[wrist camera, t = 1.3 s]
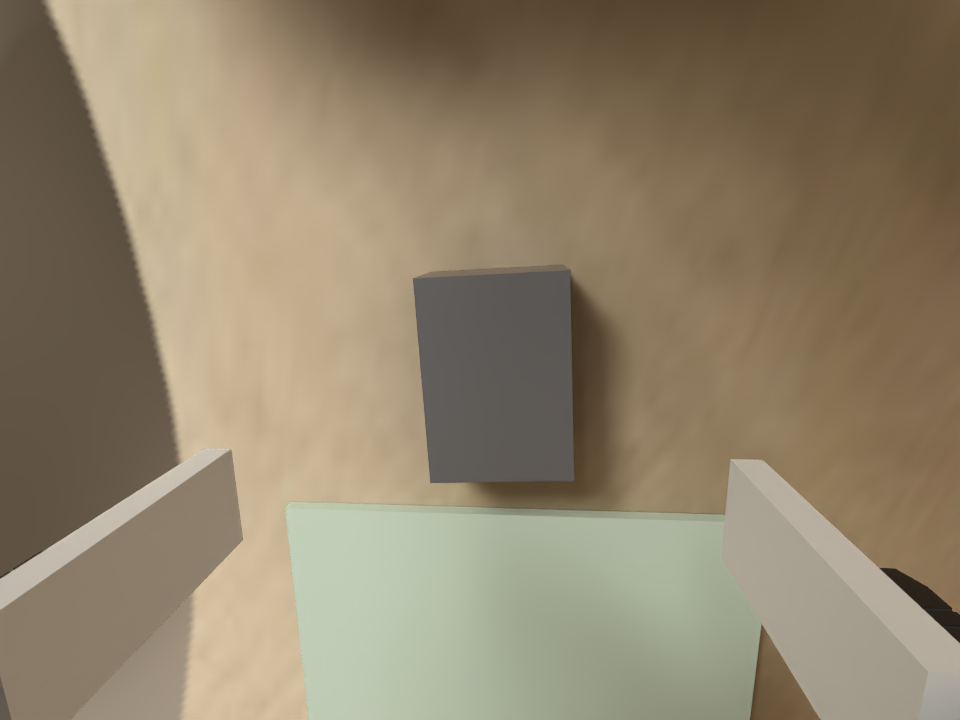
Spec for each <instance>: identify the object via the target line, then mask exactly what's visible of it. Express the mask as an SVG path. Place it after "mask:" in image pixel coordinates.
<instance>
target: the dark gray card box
mask: <svg viewBox="0 0 960 720" xmlns="http://www.w3.org/2000/svg"><path fill="white" fill-rule="evenodd" d="M413 284H414V295H415V307H416V319H417V330H418V342H419V354H420V366H421V377H422V389H423V401H424V412H425V424H426V436H427V448H428V459H429V471H430V483H461V482H539V481H574V443H573V390H572V338H571V285H570V270H569V269H568V268H567V267H565V266H564V265H550V266H532V267H513V268H495V269H476V270H457V271H439V272H430V273H427V274H424V275H422V276H419V277H416V278H413Z"/></svg>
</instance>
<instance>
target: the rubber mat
mask: <svg viewBox="0 0 960 720" xmlns="http://www.w3.org/2000/svg"><path fill="white" fill-rule="evenodd" d="M285 512H286V521H287V530H288V539H289V548H290V557H291V566H292V575H293V584H294V593H295V602H296V611H297V620H298V629H299V638H300V647H301V656H302V664H303V673H304V682H305V691H306V700H307V709H308V718H309V720H750V714H751V706H752V698H753V689H754V681H755V673H756V665H757V657H758V648H759V640H760V632H761V624H762V623H761V622H760V620H759V618H758V617H757V615H756V614H755V612H754V610H753V609H752V607H751V605H750V604H749V602H748V600H747V599H746V597H745V596H744V594H743V592H742V591H741V589H740V587H739V586H738V584H737V582H736V581H735V579H734V577H733V576H732V574H731V573H730V571H729V569H728V568H727V566H726V564H725V563H724V561H723V559H722V558H721V555H722V544H723V534H724V524H725V515H720V514H687V513H653V512H620V511H587V510H553V509H520V508H486V507H453V506H419V505H386V504H352V503H319V502H290V503H289V504H288V506H287V507H286V508H285Z"/></svg>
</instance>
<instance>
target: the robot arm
mask: <svg viewBox="0 0 960 720" xmlns="http://www.w3.org/2000/svg"><path fill="white" fill-rule="evenodd" d="M242 540H243V536H242V528H241V520H240V513H239V505H238V497H237V489H236V482H235V474H234V466H233V459H232V451H231V449H212V448H204V449H203V450H201V451H200V452H198V453H197V454H195V455H194V456H192V457H190V458H189V459H187V460H186V461H184V462H183V463H181V464H179V465H178V466H176V467H175V468H173V469H172V470H170V471H168V472H167V473H165V474H164V475H163V476H161V477H159V478H158V479H156V480H155V481H153V482H151V483H150V484H148V485H147V486H145V487H143V488H142V489H140V490H139V491H137V492H136V493H134V494H132V495H131V496H129V497H128V498H126V499H125V500H123V501H122V502H120V503H118V504H117V505H115V506H114V507H112V508H111V509H109V510H107V511H106V512H104V513H103V514H101V515H100V516H98V517H96V518H95V519H93V520H92V521H90V522H89V523H87V524H85V525H84V526H82V527H81V528H79V529H78V530H76V531H75V532H73V533H71V534H70V535H68V536H67V537H65V538H64V539H62V540H60V541H59V542H57V543H56V544H54V545H53V546H51V547H49V548H48V549H45V550H43V551H41V552H39V553H37V554H36V555H34V556H32V557H31V558H29V559H28V560H26V561H25V562H23V563H21V564H20V565H18V566H17V567H15V568H14V570H13V571H12V572H7V573H6V574H4V575H3V576H1V577H0V720H71V719H72V718H73V717H74V716H75V715H76V713H77V712H78V711H79V710H80V709H81V708H82V707H83V706H84V705H85V704H86V703H87V702H88V701H89V700H90V699H91V698H92V697H93V696H94V695H95V693H96V692H98V690H99V689H100V688H101V687H102V686H103V685H104V684H105V683H106V682H107V681H108V680H109V679H110V678H111V677H112V676H113V675H114V674H115V673H116V672H117V671H118V670H119V668H120V667H122V665H123V664H124V663H125V662H126V661H127V660H128V659H129V658H130V657H131V656H132V655H133V654H134V653H135V652H136V651H137V650H138V649H139V648H140V647H141V646H142V645H143V644H144V642H145V641H146V640H147V639H148V638H149V637H150V636H151V635H152V634H153V633H154V632H155V631H156V630H157V629H158V628H159V627H160V626H161V625H162V623H164V622H165V620H167V618H168V617H169V616H170V615H171V614H172V613H173V612H174V611H175V610H176V609H177V608H178V607H179V606H180V605H181V604H182V603H183V602H184V601H185V600H186V599H187V598H188V597H189V596H190V594H191V593H192V592H193V591H194V590H195V589H196V588H197V587H198V586H199V585H200V584H201V583H202V582H203V581H204V580H205V579H206V578H207V577H208V576H209V575H210V574H211V573H212V571H213V570H214V569H215V568H216V567H217V566H218V565H219V564H220V563H221V562H222V561H223V560H224V559H225V558H226V557H227V556H228V555H229V554H230V553H231V552H232V551H233V550H234V549H235V547H236V546H237V545H238V544H239V543H240V542H241V541H242ZM721 558H722V559H723V561H724V563H725V564H726V566H727V568H728V569H729V571H730V573H731V574H732V576H733V577H734V579H735V581H736V582H737V584H738V586H739V587H740V589H741V591H742V592H743V594H744V596H745V597H746V599H747V600H748V602H749V604H750V605H751V607H752V609H753V610H754V612H755V614H756V615H757V617H758V618H759V620H760V622H761V623H762V625H763V627H764V628H765V630H766V632H767V633H768V635H769V636H770V638H771V640H772V641H773V643H774V645H775V646H776V648H777V650H778V651H779V653H780V654H781V656H782V658H783V659H784V661H785V663H786V664H787V666H788V668H789V669H790V671H791V672H792V674H793V676H794V677H795V679H796V681H797V682H798V684H799V686H800V687H801V689H802V690H803V692H804V694H805V695H806V697H807V699H808V700H809V702H810V704H811V705H812V707H813V708H814V710H815V712H816V713H817V715H818V717H819V718H820V720H960V615H959V614H958V613H957V612H953V611H952V608H951V607H950V606H949V605H948V604H947V603H945V602H944V601H943V600H942V599H941V598H940V597H938V596H937V595H936V594H935V593H934V592H933V591H932V590H930V589H929V588H928V587H927V586H925V585H923V584H921V583H920V582H918V581H916V580H914V579H913V578H911V577H909V576H907V575H905V574H904V573H902V572H900V571H898V570H897V569H890V568H878V567H877V566H876V565H875V564H874V563H873V562H872V561H871V560H870V559H869V558H868V557H866V556H865V555H864V554H863V553H862V552H861V551H860V550H859V549H858V548H857V547H856V546H855V545H854V544H853V543H851V542H850V541H849V540H848V539H847V538H846V537H845V536H844V535H843V534H842V533H841V532H840V531H839V530H837V529H836V528H835V527H834V526H833V525H832V524H831V523H830V522H829V521H828V520H827V519H826V518H825V517H824V516H822V515H821V514H820V513H819V512H818V511H817V510H816V509H815V508H814V507H813V506H812V505H811V504H810V503H809V502H807V501H806V500H805V499H804V498H803V497H802V496H801V495H800V494H799V493H798V492H797V491H796V490H795V489H793V488H792V487H791V486H790V485H789V484H788V483H787V482H786V481H785V480H784V479H783V478H782V477H781V476H780V475H778V474H777V473H776V472H775V471H774V470H773V469H772V468H771V467H770V466H769V465H768V464H767V463H766V462H764V461H763V460H747V459H731V461H730V471H729V482H728V492H727V503H726V513H725V524H724V534H723V544H722V555H721Z"/></svg>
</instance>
